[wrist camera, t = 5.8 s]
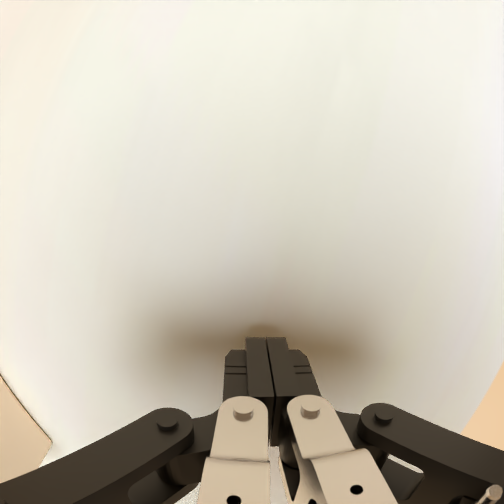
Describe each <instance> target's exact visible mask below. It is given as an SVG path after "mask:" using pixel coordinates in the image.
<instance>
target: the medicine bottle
mask: <svg viewBox="0 0 504 504" xmlns="http://www.w3.org/2000/svg"><path fill="white" fill-rule="evenodd" d="M51 444H52V442H51V440H50V439H49V438H48V437H47V435H46V434H45V433H44V432H43V431H42V430H41V429H40V427H39V426H38V425H37V424H36V423H35V422H34V420H33V419H32V418H31V417H30V415H29V414H28V413H27V412H26V410H25V409H24V408H23V407H22V405H21V404H20V403H19V401H18V400H17V399H16V397H15V396H14V395H13V393H12V392H11V390H10V389H9V388H8V386H7V385H6V383H5V382H4V380H3V379H2V378H1V376H0V483H3V482H5V481H8V480H11V479H13V478H16V477H18V476H21V475H23V474H26V473H28V472H31V471H33V470H35V469H38V468H39V466H40V464H41V463H42V461H43V459H44V457H45V455H46V454H47V452H48V450H49V448H50V447H51Z"/></svg>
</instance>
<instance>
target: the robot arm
mask: <svg viewBox="0 0 504 504" xmlns="http://www.w3.org/2000/svg"><path fill="white" fill-rule="evenodd" d="M269 439H270V446H279V452H280V455H279V461H278V465H279V469H280V473H281V477H282V481H283V485H284V489H285V493H286V497H287V501H288V504H504V451H502V450H500V449H497V448H494V447H491V446H488V445H486V444H483V443H480V442H477V441H475V440H472V439H470V438H467V437H465V436H462V435H460V434H457V433H455V432H452V431H450V430H447V429H445V428H442V427H440V426H438V425H435V424H433V423H431V422H428V421H426V420H424V419H421V418H419V417H417V416H415V415H412V414H410V413H408V412H406V411H403V410H401V409H399V408H397V407H395V406H392V405H389V404H385V403H375V404H371V405H369V406H367V407H365V408H364V409H363V410H362V412H361V415H359V414H349V413H342V412H339V411H336V410H334V408H333V406H332V404H331V403H330V402H329V401H328V400H326V399H324V398H322V397H321V395H320V392H319V389H318V386H317V384H316V381H315V378H314V375H313V374H312V370H311V367H310V364H309V361H308V359H307V357H306V356H305V355H304V354H303V353H302V352H301V351H300V350H289V349H288V345H287V342H286V338H285V337H278V338H270V337H266V339H265V338H259V337H246V339H245V350H231V351H230V352H229V353H228V355H227V356H226V357H225V372H224V389H223V402H222V404H221V405H220V407H219V409H218V410H217V411H216V412H214V413H213V414H211V415H208V416H205V417H200V418H194V419H191V417H190V416H189V415H188V414H187V413H186V412H184V411H182V410H179V409H176V408H161V409H157V410H154V411H152V412H150V413H148V414H147V415H145V416H143V417H141V418H139V419H138V420H136V421H134V422H132V423H130V424H128V425H127V426H125V427H123V428H121V429H119V430H117V431H115V432H113V433H112V434H110V435H108V436H106V437H104V438H102V439H100V440H98V441H96V442H94V443H92V444H90V445H88V446H86V447H84V448H82V449H80V450H78V451H75V452H73V453H71V454H69V455H67V456H65V457H63V458H60V459H58V460H56V461H54V462H52V463H49V464H47V465H45V466H42V467H40V468H38V469H35V470H33V471H31V472H28V473H26V474H23V475H21V476H18V477H16V478H13V479H11V480H8V481H5V482H3V483H0V504H174V503H176V502H177V501H179V500H180V499H181V498H183V497H184V496H185V495H187V494H188V493H189V492H191V491H192V490H193V489H194V488H195V487H197V485H198V484H199V482H201V484H200V489H199V494H198V499H197V504H270V461H268V447H269ZM389 454H391V455H393V456H395V457H397V458H399V459H401V460H403V461H405V462H407V463H409V464H412V465H414V466H416V467H418V468H420V469H421V470H422V471H423V472H424V473H417V472H415V471H413V470H411V469H409V468H406V467H404V466H402V465H400V464H398V463H396V462H394V461H392V460H390V459H388V456H389Z"/></svg>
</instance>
